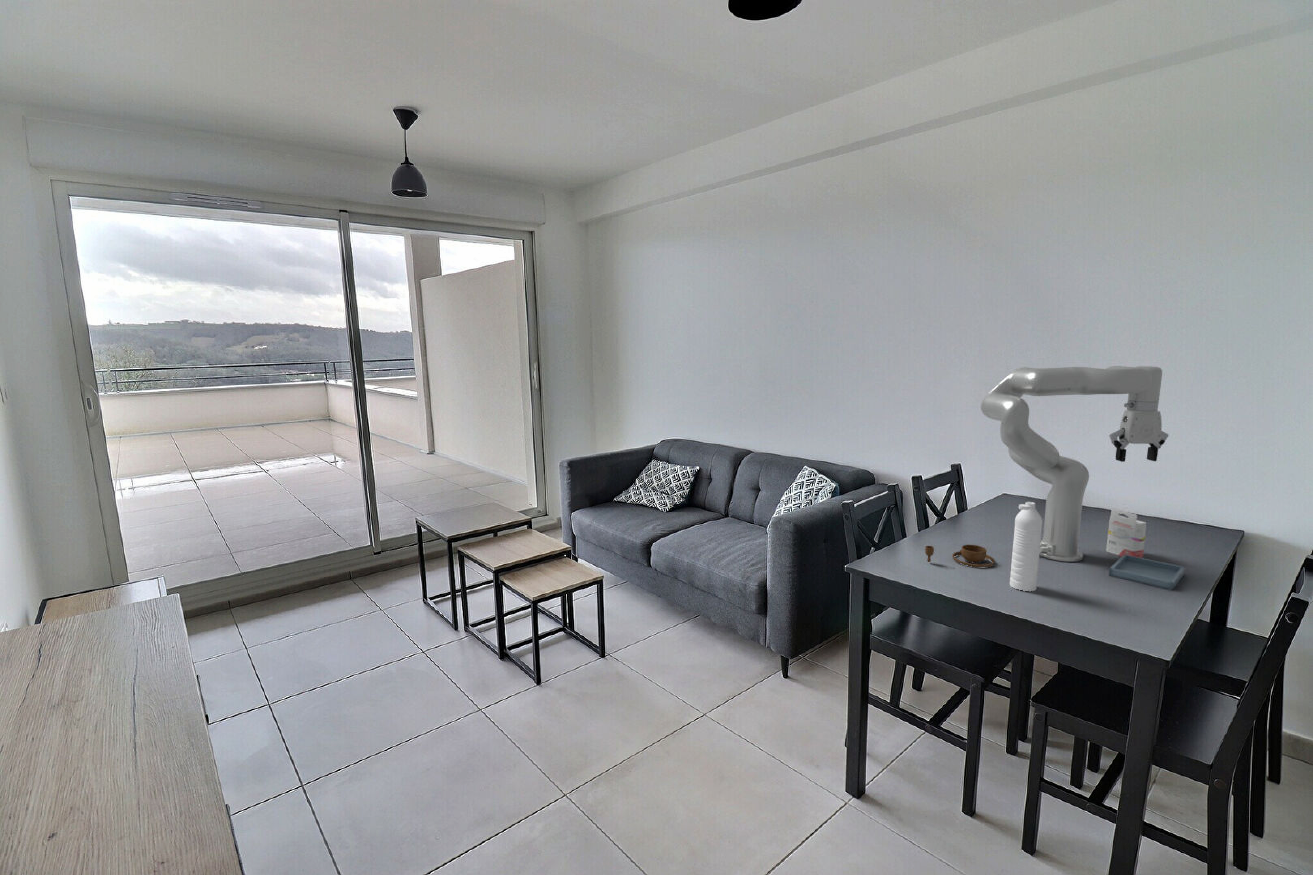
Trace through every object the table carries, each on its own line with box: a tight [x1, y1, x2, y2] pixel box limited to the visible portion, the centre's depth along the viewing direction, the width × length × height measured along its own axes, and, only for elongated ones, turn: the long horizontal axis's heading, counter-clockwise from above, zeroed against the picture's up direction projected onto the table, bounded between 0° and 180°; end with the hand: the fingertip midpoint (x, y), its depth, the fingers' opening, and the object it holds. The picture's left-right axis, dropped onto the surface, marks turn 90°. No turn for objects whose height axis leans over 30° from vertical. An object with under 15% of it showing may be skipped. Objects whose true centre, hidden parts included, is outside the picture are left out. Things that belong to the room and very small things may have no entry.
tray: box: [1108, 554, 1186, 591], centre depth 179 cm, size 17×15×2 cm
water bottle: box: [1009, 501, 1043, 592], centre depth 170 cm, size 9×6×25 cm
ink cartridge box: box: [1105, 508, 1147, 558], centre depth 194 cm, size 9×5×15 cm, turn 17°
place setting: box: [924, 544, 996, 568], centre depth 194 cm, size 18×20×6 cm
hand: (1135, 460), depth 191 cm, fingers open, 9 cm apart
